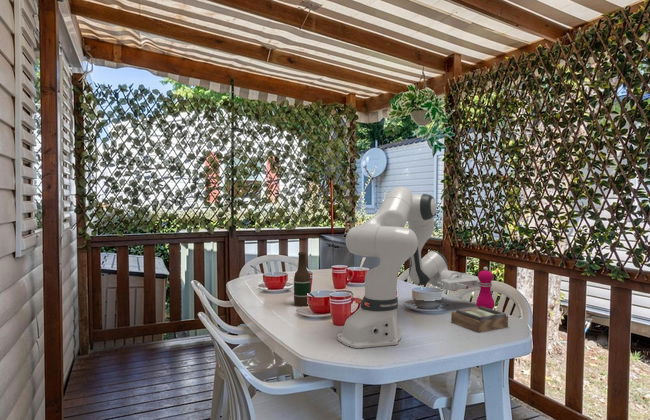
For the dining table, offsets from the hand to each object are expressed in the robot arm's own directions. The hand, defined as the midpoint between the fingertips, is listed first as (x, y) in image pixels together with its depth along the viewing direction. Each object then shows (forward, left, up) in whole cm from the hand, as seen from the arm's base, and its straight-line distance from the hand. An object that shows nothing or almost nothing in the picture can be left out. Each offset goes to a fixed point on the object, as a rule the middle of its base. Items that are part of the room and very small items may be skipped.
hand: (475, 286), depth 188 cm
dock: (-13, -15, -11) cm, 22 cm away
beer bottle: (-62, +43, -11) cm, 76 cm away
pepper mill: (0, -6, -11) cm, 12 cm away
